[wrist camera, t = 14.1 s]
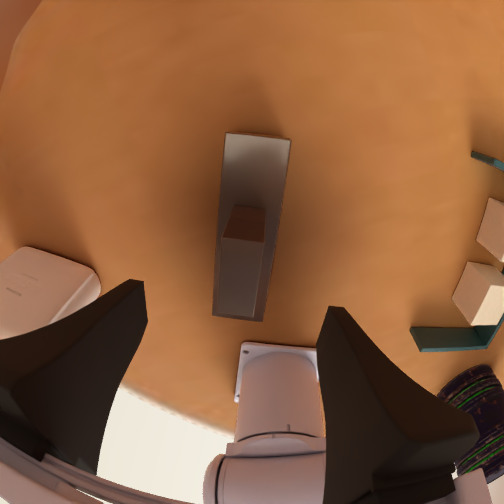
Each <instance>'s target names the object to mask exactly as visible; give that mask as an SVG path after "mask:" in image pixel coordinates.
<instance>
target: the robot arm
mask: <svg viewBox="0 0 504 504" xmlns="http://www.w3.org/2000/svg"><path fill="white" fill-rule="evenodd" d="M147 323H148V318H147V310H146V301H145V291H144V281H139V280H133V279H129V280H127V281H125V282H123V283H122V284H120V285H118V286H117V287H115V288H114V289H112V290H110V291H109V292H107V293H106V294H104V295H103V296H101V297H99V298H98V299H96V300H95V301H93V302H91V303H90V304H88V305H86V306H84V307H83V308H81V309H79V310H77V311H76V312H74V313H72V314H70V315H68V316H66V317H64V318H62V319H60V320H58V321H56V322H54V323H52V324H49V325H47V326H44V327H41V328H39V329H36V330H33V331H31V332H28V333H25V334H21V335H18V336H14V337H10V338H6V339H1V340H0V497H2V498H3V499H4V500H6V501H7V502H8V503H9V504H103V502H101V501H99V500H96V499H94V498H92V497H90V496H88V495H86V494H84V493H82V492H80V491H83V492H85V493H87V494H90V495H92V496H94V497H97V498H100V499H102V500H104V501H107V502H110V503H113V504H193V503H188V502H183V501H178V500H173V499H169V498H165V497H161V496H156V495H153V494H149V493H145V492H142V491H139V490H135V489H132V488H129V487H125V486H122V485H120V484H117V483H114V482H111V481H108V480H105V479H103V478H100V477H98V476H96V475H97V467H98V461H99V455H100V449H101V444H102V440H103V435H104V431H105V427H106V423H107V420H108V416H109V413H110V410H111V406H112V403H113V400H114V397H115V394H116V391H117V389H118V387H119V385H120V382H121V380H122V378H123V376H124V374H125V372H126V370H127V368H128V366H129V364H130V362H131V360H132V358H133V356H134V354H135V352H136V350H137V348H138V346H139V344H140V342H141V340H142V337H143V334H144V331H145V329H146V326H147ZM244 350H247V351H244ZM318 381H319V382H320V388H321V394H322V400H323V406H324V412H325V422H326V437H324V434H323V424H322V415H321V406H320V397H319V389H318ZM234 401H235V402H236V403H239V404H238V412H237V421H236V430H235V438H234V443H228V444H227V448H226V454H219V455H217V456H216V457H215V458H214V460H213V461H212V462H211V463H210V464H209V465H208V467H207V470H206V473H205V477H204V483H203V500H204V504H492V501H491V497H490V493H489V490H488V486H487V483H486V479H485V476H484V473H483V470H482V468H479V469H477V470H474V471H472V472H469V473H466V474H464V475H461V476H459V477H457V478H455V479H454V480H453V478H452V474H451V473H453V472H455V470H456V468H455V465H454V462H455V461H456V460H458V459H459V458H460V457H461V456H463V455H464V454H465V453H466V452H467V451H469V450H470V449H471V448H472V447H473V446H474V445H475V444H476V442H477V441H478V439H479V436H480V434H479V431H478V429H477V426H476V424H475V421H474V419H473V417H472V415H471V414H469V413H467V412H465V411H462V410H460V409H458V408H456V407H454V406H452V405H450V404H448V403H446V402H445V401H443V400H441V399H440V398H438V397H436V396H435V395H433V394H432V393H430V392H429V391H427V390H426V389H424V388H423V387H422V386H420V385H419V384H417V383H416V382H415V381H413V380H412V379H411V378H410V377H408V376H407V375H406V374H405V373H404V372H403V371H401V370H400V369H399V368H398V367H397V366H396V365H395V364H394V363H393V362H392V361H391V360H390V359H389V358H388V357H387V356H386V355H385V354H384V353H383V352H382V351H381V350H380V349H379V348H378V347H377V346H376V345H375V344H374V343H373V341H372V340H371V339H370V338H369V337H368V336H367V334H366V333H365V332H364V331H363V330H362V328H361V327H360V326H359V325H358V324H357V322H356V321H355V320H354V319H353V318H352V316H351V315H350V314H349V313H348V312H347V310H346V309H345V308H344V307H335V306H329V307H328V310H327V313H326V316H325V319H324V322H323V325H322V328H321V331H320V334H319V337H318V340H317V343H316V348H304V347H292V346H281V345H272V344H262V343H254V342H243V343H242V345H241V352H240V359H239V367H238V375H237V382H236V390H235V398H234ZM75 488H76V489H78V490H80V491H78V490H76V489H75Z"/></svg>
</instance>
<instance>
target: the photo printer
mask: <svg viewBox="0 0 504 504" xmlns="http://www.w3.org/2000/svg"><path fill="white" fill-rule="evenodd" d="M100 291H101V285H100V281H99V278H98V276H97V274H96V273H94V270H92V269H91V268H89V267H87V266H84V265H82V264H79V263H76V262H74V261H71V260H68V259H65V258H62V257H59V256H56V255H53V254H51V253H48V252H44V251H41V250H38V249H35V248H31V247H21V248H19V249H18V250H16V251H15V252H14V253H13V254H11V255H10V256H9V257H7V258H6V259H5V260H4V261H2V262H1V263H0V340H1V339H6V338H10V337H14V336H18V335H21V334H25V333H28V332H31V331H33V330H36V329H39V328H41V327H44V326H47V325H49V324H52V323H54V322H56V321H58V320H60V319H62V318H64V317H66V316H68V315H70V314H72V313H74V312H76V311H77V310H79V309H81V308H83V307H84V306H86V305H88V304H90V303H91V302H93V301H95V300H96V298H97V297H98V296H99V294H100Z"/></svg>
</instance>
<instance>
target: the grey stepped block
mask: <svg viewBox="0 0 504 504" xmlns="http://www.w3.org/2000/svg"><path fill="white" fill-rule="evenodd" d="M290 148H291V139H289V138H284V137H276V136H269V135H261V134H252V133H242V132H232V131H228V132H226V133H225V140H224V150H223V161H222V172H221V184H220V196H219V209H218V222H217V237H216V252H215V269H214V287H213V308H212V315H213V316H218V317H225V318H233V319H240V320H248V321H256V322H263V318H264V312H265V306H266V301H267V295H268V289H269V283H270V277H271V271H272V265H273V259H274V253H275V247H276V240H277V234H278V228H279V222H280V215H281V209H282V202H283V196H284V189H285V182H286V176H287V169H288V162H289V155H290Z"/></svg>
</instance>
